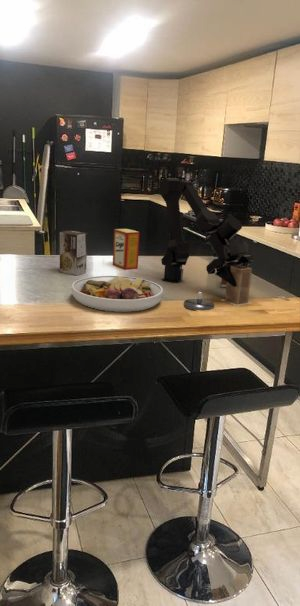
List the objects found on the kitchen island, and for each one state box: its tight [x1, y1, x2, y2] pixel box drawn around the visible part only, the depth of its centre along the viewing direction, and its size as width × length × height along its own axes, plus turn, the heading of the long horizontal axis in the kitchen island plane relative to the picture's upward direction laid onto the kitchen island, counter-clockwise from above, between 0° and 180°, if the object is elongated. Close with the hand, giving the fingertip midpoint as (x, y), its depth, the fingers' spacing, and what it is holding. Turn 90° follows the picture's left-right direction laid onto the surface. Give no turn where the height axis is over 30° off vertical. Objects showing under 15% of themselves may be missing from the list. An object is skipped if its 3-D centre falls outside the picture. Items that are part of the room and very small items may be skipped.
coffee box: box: [59, 230, 88, 276], centre depth 195 cm, size 9×6×16 cm
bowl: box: [71, 275, 164, 313], centre depth 163 cm, size 30×30×8 cm
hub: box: [183, 291, 215, 312], centre depth 162 cm, size 10×10×5 cm
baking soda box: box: [112, 228, 141, 271], centre depth 210 cm, size 10×6×16 cm
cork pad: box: [220, 298, 253, 307], centre depth 170 cm, size 8×8×1 cm
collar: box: [224, 265, 253, 305], centre depth 169 cm, size 6×6×12 cm
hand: (241, 285), depth 168 cm, fingers closed on collar, 6 cm apart
